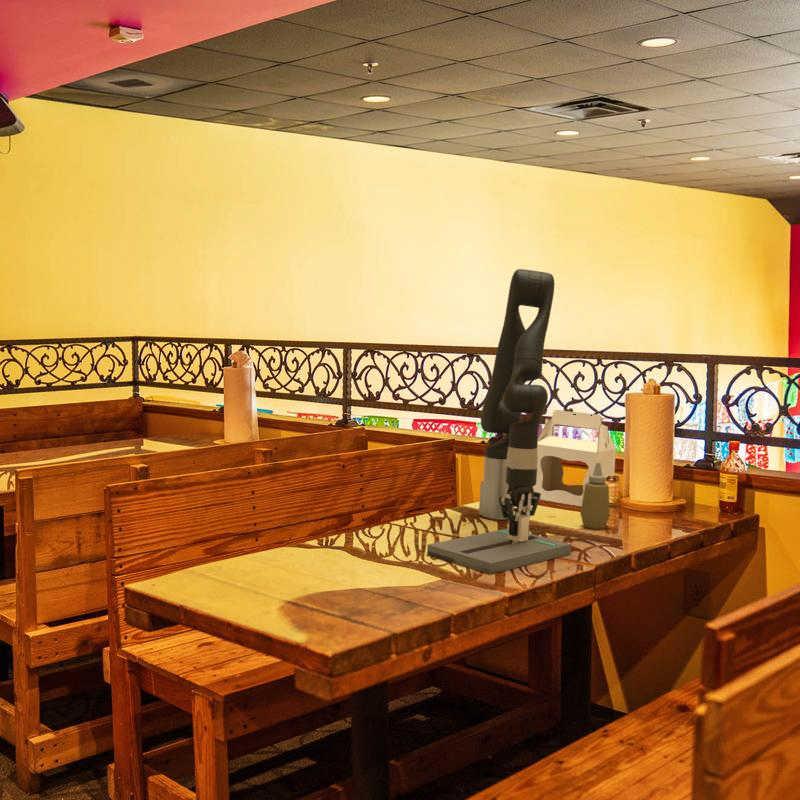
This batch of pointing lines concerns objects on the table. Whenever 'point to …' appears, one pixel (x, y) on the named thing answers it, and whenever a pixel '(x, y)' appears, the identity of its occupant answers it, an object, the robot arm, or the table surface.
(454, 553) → the panel
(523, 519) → the fader tab
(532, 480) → the robot arm
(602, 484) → the squeeze bottle
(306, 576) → the table surface
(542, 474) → the gable box
